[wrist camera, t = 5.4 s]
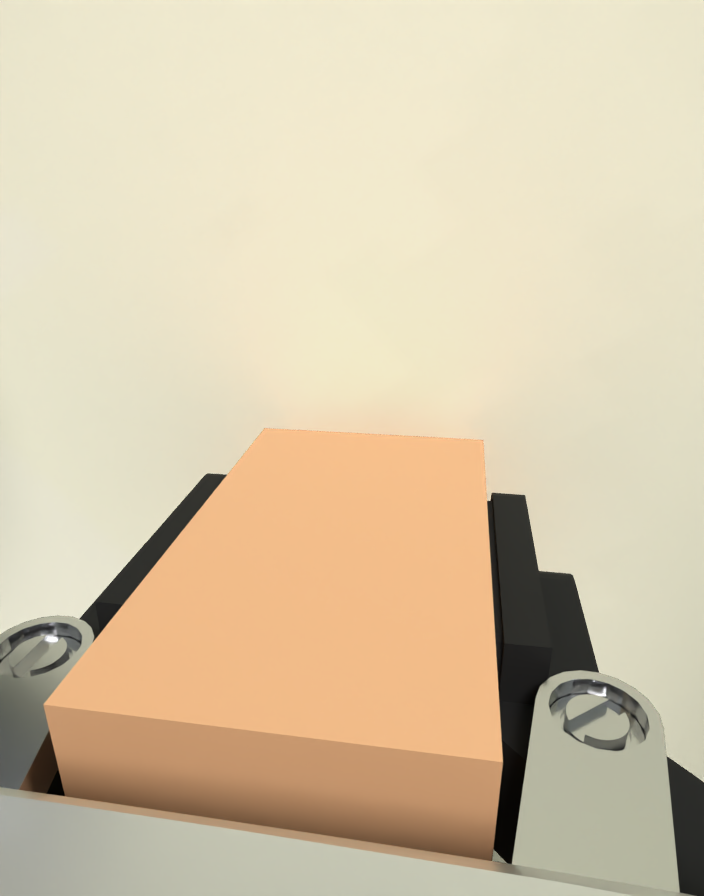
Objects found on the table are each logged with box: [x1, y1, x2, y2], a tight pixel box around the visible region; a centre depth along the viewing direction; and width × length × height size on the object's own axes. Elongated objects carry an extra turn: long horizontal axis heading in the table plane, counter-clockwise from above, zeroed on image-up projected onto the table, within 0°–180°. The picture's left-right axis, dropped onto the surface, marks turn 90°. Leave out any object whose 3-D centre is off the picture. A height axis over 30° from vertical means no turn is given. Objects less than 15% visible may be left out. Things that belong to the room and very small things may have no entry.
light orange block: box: [43, 428, 503, 861], centre depth 9 cm, size 4×4×7 cm
